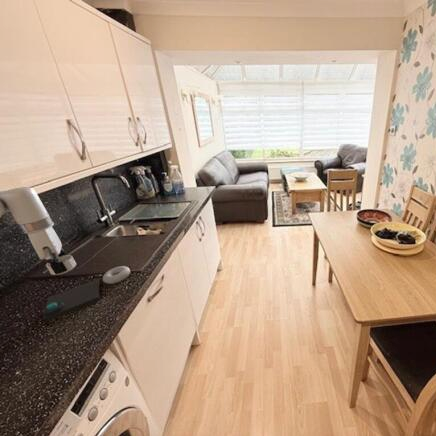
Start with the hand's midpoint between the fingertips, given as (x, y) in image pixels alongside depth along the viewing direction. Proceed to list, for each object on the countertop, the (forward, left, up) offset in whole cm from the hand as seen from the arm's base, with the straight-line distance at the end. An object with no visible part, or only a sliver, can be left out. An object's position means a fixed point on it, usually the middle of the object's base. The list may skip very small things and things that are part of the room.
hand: (62, 266), depth 87 cm
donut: (+5, +12, -15) cm, 20 cm away
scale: (-1, -2, -15) cm, 15 cm away
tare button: (-1, -8, -12) cm, 15 cm away
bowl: (0, 0, -1) cm, 1 cm away
